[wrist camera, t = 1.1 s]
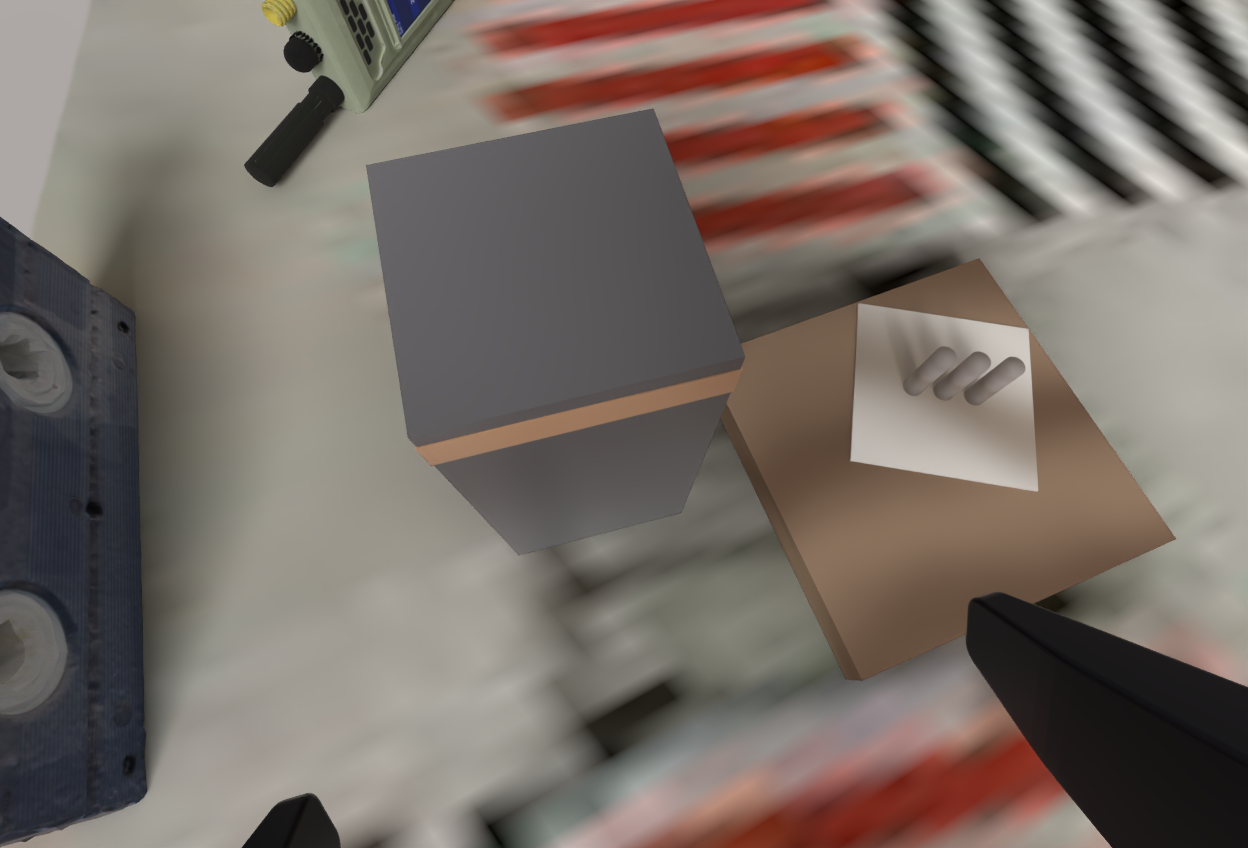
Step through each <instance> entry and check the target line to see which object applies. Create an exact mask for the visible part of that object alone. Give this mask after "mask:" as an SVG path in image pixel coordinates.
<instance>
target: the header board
mask: <svg viewBox="0 0 1248 848" xmlns="http://www.w3.org/2000/svg"><path fill="white" fill-rule="evenodd" d="M741 346H742V348H743V351H744V354H745V356H746V357H745V359H744V362H743V364H742V373H741V375H740V377H739V380H738V382H737V384H736V387H735V389H734V392H731V393H730V396H729V398H728V401H727V403H726V405H725V408H724V410H723V413H722V415H721V417H720V418H721V420H722V422H723V424H724V427H725V429H726V431H727V433H728V435H729V437H730V439H731V441H732V443H733V445H734V447H735V449H736V452H737V454H738V456H739V458H740V460H741V462H742V464H743V466H744V468H745V470H746V472H747V474H748V476H749V479H750V481H751V483H752V485H753V487H754V489H755V491H756V493H757V495H758V497H759V499H760V501H761V504H762V506H763V508H764V510H765V512H766V514H767V516H768V518H769V520H770V522H771V524H772V526H773V529H774V531H775V533H776V535H777V537H778V539H779V541H780V543H781V545H782V547H783V549H784V551H785V553H786V556H787V558H788V560H789V562H790V564H791V566H792V568H793V570H794V572H795V574H796V576H797V578H798V581H799V583H800V585H801V587H802V589H803V591H804V593H805V595H806V597H807V599H808V601H809V603H810V606H811V608H812V610H813V612H814V614H815V616H816V618H817V620H818V622H819V624H820V626H821V628H822V630H823V633H824V635H825V637H826V639H827V641H828V643H829V645H830V647H831V649H832V651H833V653H834V655H835V658H836V660H837V662H838V664H839V666H840V668H841V670H842V672H843V674H844V676H845V678H846V679H848V680H860V681H863V680H865V679H867V678H869V677H871V676H874V675H876V674H878V673H880V672H883V671H885V670H887V669H889V668H891V667H894V666H896V665H898V664H900V663H902V662H905V661H907V660H909V659H911V658H914V657H916V656H918V655H920V654H922V653H925V652H927V651H929V650H931V649H934V648H936V647H938V646H940V645H942V644H945V643H947V642H949V641H951V640H953V639H956V638H958V637H960V636H962V635H965V634H966V630H967V611H968V604H969V602H970V600H971V599H973V598H975V597H978V596H981V595H985V594H988V593H992V592H1003V593H1006V594H1009V595H1011V596H1014V597H1016V598H1019V599H1022V600H1024V601H1027V602H1029V603H1032V604H1033V603H1035V602H1038V601H1040V600H1042V599H1044V598H1047V597H1049V596H1051V595H1053V594H1055V593H1058V592H1060V591H1062V590H1064V589H1066V588H1069V587H1071V586H1073V585H1075V584H1078V583H1080V582H1082V581H1084V580H1086V579H1089V578H1091V577H1093V576H1095V575H1098V574H1100V573H1102V572H1104V571H1106V570H1109V569H1111V568H1113V567H1115V566H1117V565H1120V564H1122V563H1124V562H1126V561H1129V560H1131V559H1133V558H1135V557H1137V556H1140V555H1142V554H1144V553H1146V552H1148V551H1151V550H1153V549H1155V548H1157V547H1160V546H1162V545H1164V544H1166V543H1168V542H1171V541H1173V540H1175V539H1176V538H1175V536H1174V535H1173V534H1172V532H1171V531H1170V529H1169V528H1168V526H1167V525H1166V524H1165V522H1164V521H1163V519H1162V518H1161V516H1160V515H1159V514H1158V512H1157V511H1156V509H1155V508H1154V507H1153V505H1152V504H1151V502H1150V501H1149V499H1148V498H1147V497H1146V495H1145V494H1144V492H1143V491H1142V489H1141V488H1140V487H1139V485H1138V484H1137V482H1136V481H1135V479H1134V478H1133V477H1132V475H1131V474H1130V472H1129V471H1128V469H1127V468H1126V467H1125V465H1124V464H1123V462H1122V461H1121V460H1120V458H1119V457H1118V455H1117V454H1116V452H1115V451H1114V450H1113V448H1112V447H1111V445H1110V444H1109V442H1108V441H1107V440H1106V438H1105V437H1104V435H1103V434H1102V432H1101V431H1100V430H1099V428H1098V427H1097V425H1096V424H1095V422H1094V421H1093V420H1092V418H1091V417H1090V415H1089V414H1088V412H1087V411H1086V410H1085V408H1084V407H1083V405H1082V404H1081V403H1080V401H1079V400H1078V398H1077V397H1076V395H1075V394H1074V393H1073V391H1072V390H1071V388H1070V387H1069V385H1068V384H1067V383H1066V381H1065V380H1064V378H1063V377H1062V375H1061V374H1060V373H1059V371H1058V370H1057V368H1056V367H1055V365H1054V364H1053V363H1052V361H1051V360H1050V358H1049V357H1048V356H1047V354H1046V353H1045V351H1044V350H1043V348H1042V347H1041V346H1040V344H1039V343H1038V341H1037V340H1036V338H1035V337H1034V336H1033V334H1032V333H1031V331H1030V330H1029V328H1028V327H1027V326H1026V324H1025V323H1024V321H1023V320H1022V318H1021V317H1020V316H1019V314H1018V313H1017V311H1016V310H1015V308H1014V307H1013V306H1012V304H1011V303H1010V301H1009V300H1008V299H1007V297H1006V296H1005V294H1004V293H1003V291H1002V290H1001V289H1000V287H999V286H998V284H997V283H996V281H995V280H994V279H993V277H992V276H991V274H990V273H989V271H988V270H987V269H986V267H985V266H984V264H983V263H982V261H981V260H980V259H976V260H973V261H971V262H968V263H965V264H962V265H959V266H957V267H954V268H951V269H948V270H945V271H943V272H940V273H937V274H934V275H932V276H929V277H926V278H923V279H920V280H918V281H915V282H912V283H909V284H906V285H904V286H901V287H898V288H895V289H892V290H890V291H887V292H884V293H881V294H878V295H876V296H873V297H870V298H867V299H864V300H862V301H859V302H856V303H853V304H851V305H848V306H845V307H842V308H839V309H837V310H834V311H831V312H828V313H825V314H823V315H820V316H817V317H814V318H811V319H809V320H806V321H803V322H800V323H797V324H795V325H792V326H789V327H786V328H783V329H781V330H778V331H775V332H772V333H770V334H767V335H764V336H761V337H758V338H756V339H753V340H750V341H747V342H744V343H742V344H741Z"/></svg>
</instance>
